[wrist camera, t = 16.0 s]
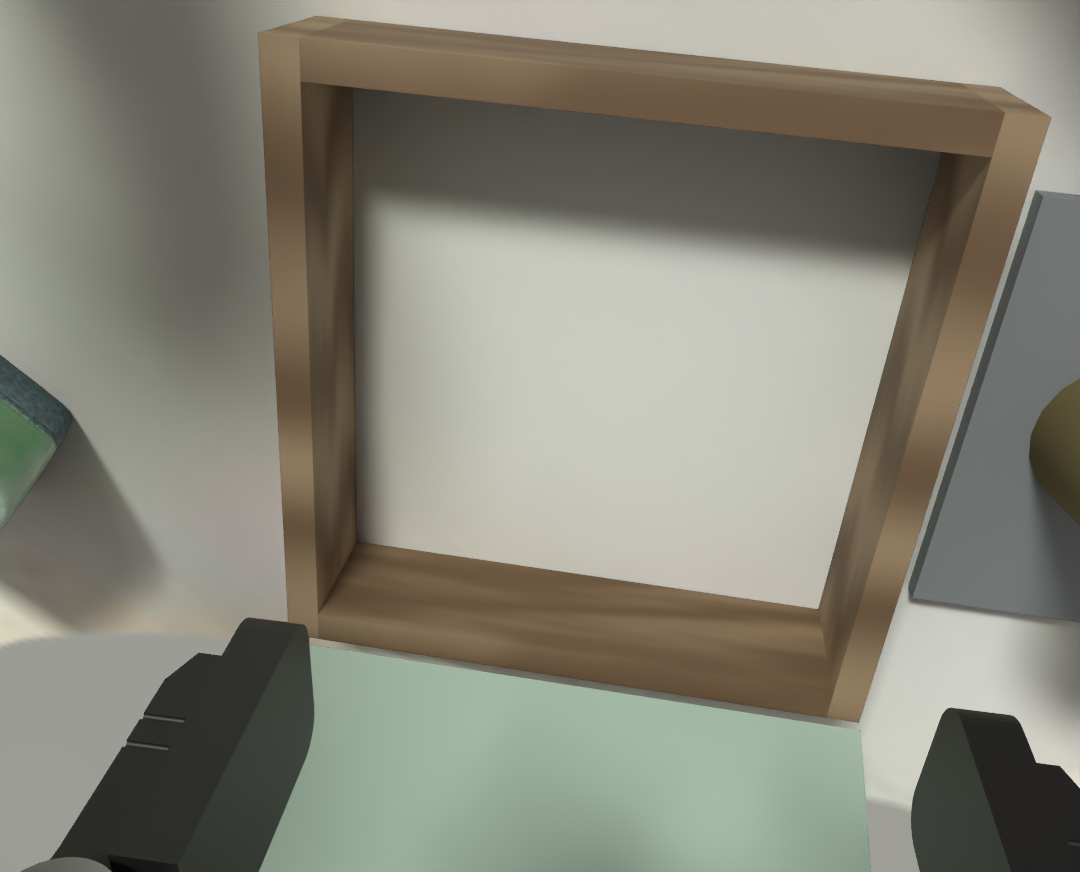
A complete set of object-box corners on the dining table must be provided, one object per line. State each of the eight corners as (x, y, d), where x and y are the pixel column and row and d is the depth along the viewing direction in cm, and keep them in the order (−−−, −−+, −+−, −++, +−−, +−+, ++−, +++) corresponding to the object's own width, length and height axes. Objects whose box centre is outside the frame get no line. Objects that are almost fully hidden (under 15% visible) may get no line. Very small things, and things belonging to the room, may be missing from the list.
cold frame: (316, 15, 33) (258, 32, 28) (1000, 87, 31) (1051, 117, 27) (329, 560, 43) (288, 633, 39) (841, 636, 42) (858, 722, 37)
